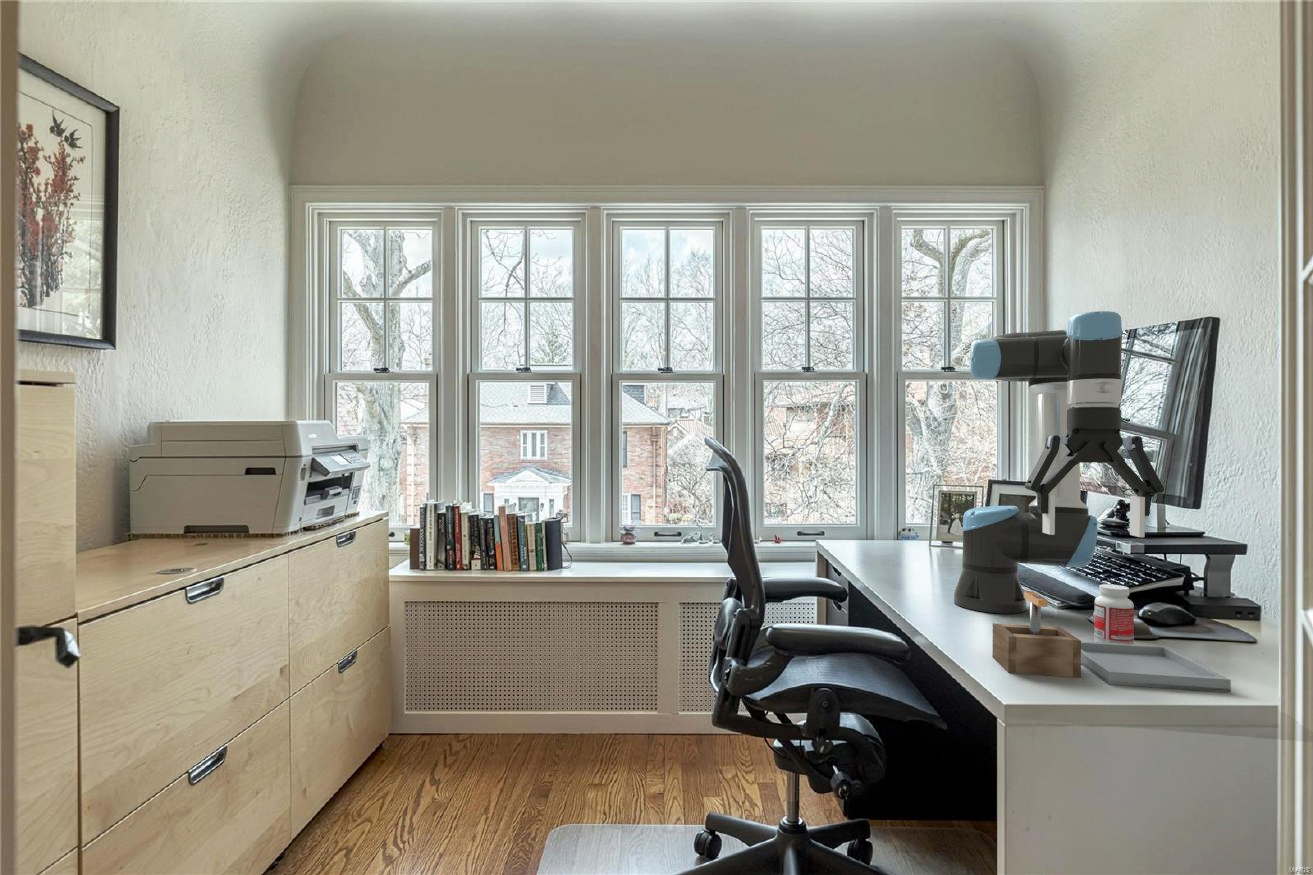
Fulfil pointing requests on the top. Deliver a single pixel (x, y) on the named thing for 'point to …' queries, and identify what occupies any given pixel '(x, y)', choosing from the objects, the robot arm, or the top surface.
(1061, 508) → the robot arm
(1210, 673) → the tray
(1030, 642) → the brown wooden open box
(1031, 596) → the t-shaped peg
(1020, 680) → the top surface
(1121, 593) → the pill bottle
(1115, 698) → the top surface
